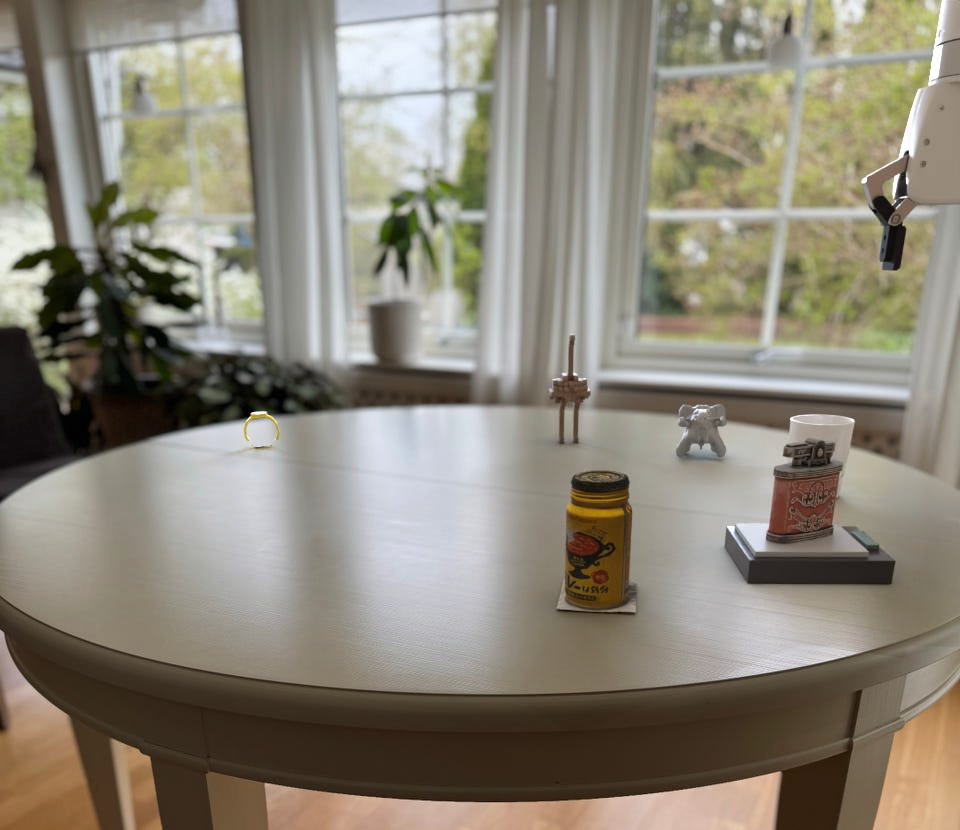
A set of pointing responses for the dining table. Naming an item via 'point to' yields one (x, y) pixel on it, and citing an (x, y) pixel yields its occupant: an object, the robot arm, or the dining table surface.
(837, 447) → the white cup
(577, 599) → the condiment
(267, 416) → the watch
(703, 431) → the elephant statuette
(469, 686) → the dining table surface
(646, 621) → the dining table surface
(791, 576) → the scale
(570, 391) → the ostrich figurine
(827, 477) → the lighter
